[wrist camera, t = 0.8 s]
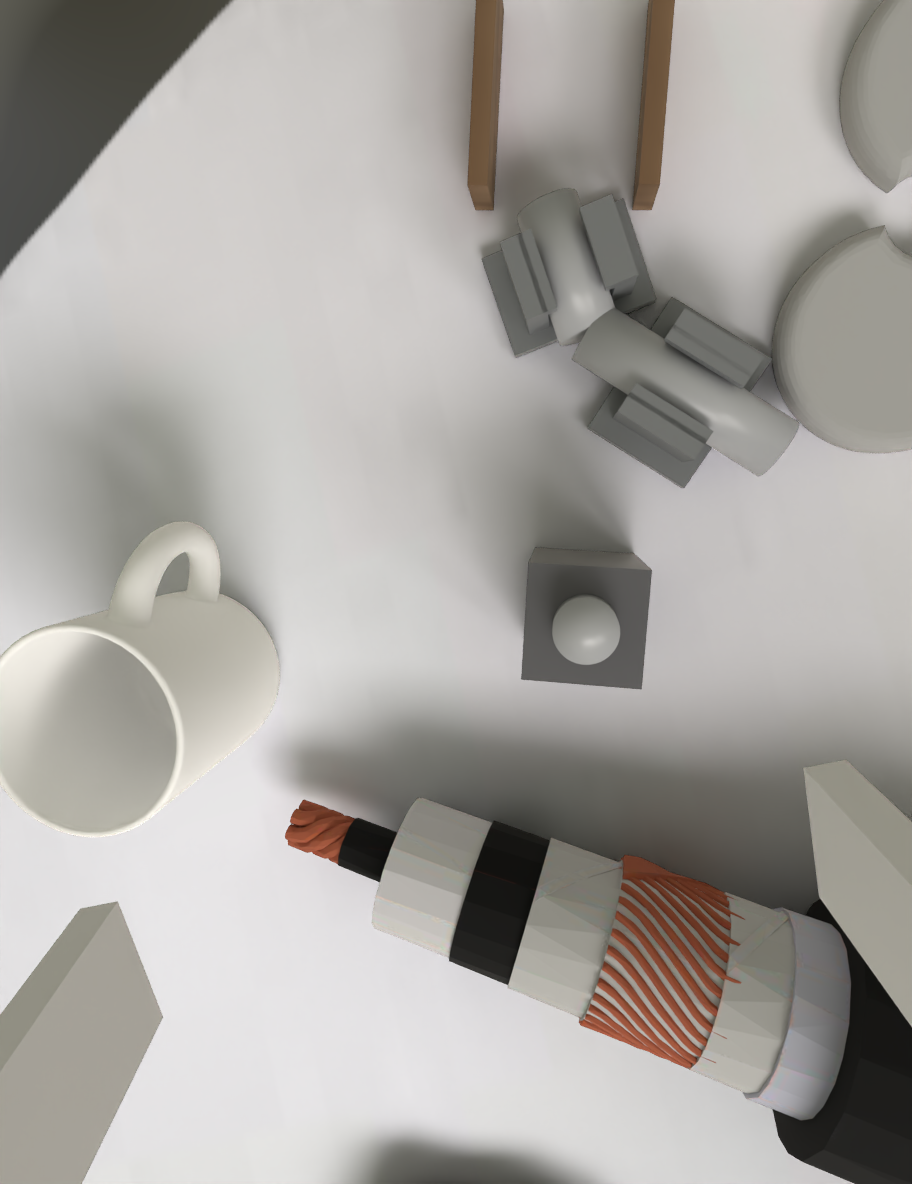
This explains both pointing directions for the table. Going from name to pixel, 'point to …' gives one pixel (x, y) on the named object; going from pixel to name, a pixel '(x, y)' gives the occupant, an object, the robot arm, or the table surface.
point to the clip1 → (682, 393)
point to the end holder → (489, 89)
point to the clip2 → (566, 270)
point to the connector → (586, 617)
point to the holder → (859, 270)
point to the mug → (133, 694)
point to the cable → (654, 969)
